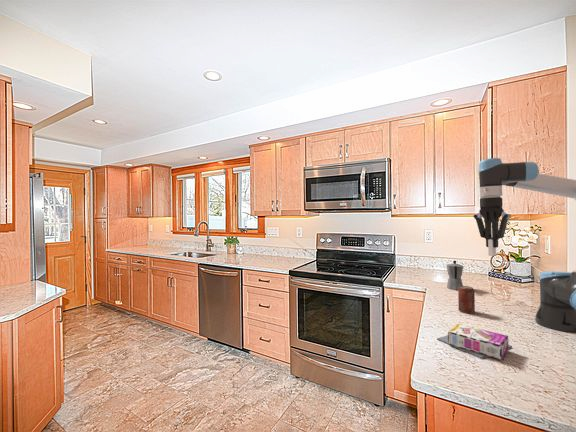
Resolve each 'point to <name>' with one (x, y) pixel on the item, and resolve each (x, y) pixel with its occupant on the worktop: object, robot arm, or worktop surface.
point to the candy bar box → (478, 340)
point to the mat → (479, 355)
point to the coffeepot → (454, 276)
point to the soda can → (466, 299)
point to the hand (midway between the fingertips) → (492, 255)
